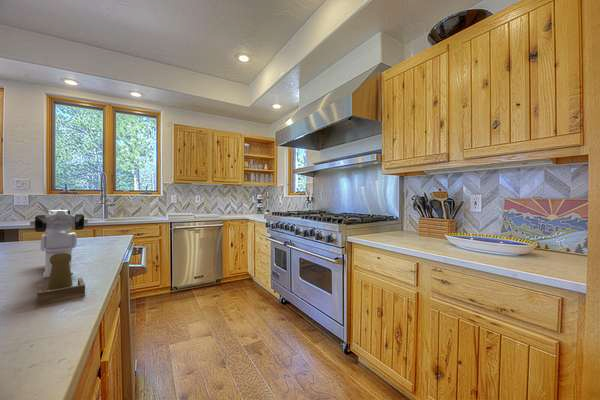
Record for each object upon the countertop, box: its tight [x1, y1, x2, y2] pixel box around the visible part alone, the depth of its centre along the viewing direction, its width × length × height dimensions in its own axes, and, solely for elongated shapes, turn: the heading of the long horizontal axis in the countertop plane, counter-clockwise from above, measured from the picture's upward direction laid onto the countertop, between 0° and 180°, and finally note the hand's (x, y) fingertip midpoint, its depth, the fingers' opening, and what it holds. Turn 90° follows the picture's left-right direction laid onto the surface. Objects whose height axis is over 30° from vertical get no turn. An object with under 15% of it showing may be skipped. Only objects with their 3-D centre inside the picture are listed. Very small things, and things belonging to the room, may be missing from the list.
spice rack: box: [36, 277, 86, 306], centre depth 75 cm, size 10×10×3 cm
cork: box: [46, 253, 74, 291], centre depth 82 cm, size 6×6×11 cm
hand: (61, 225), depth 82 cm, fingers open, 7 cm apart
